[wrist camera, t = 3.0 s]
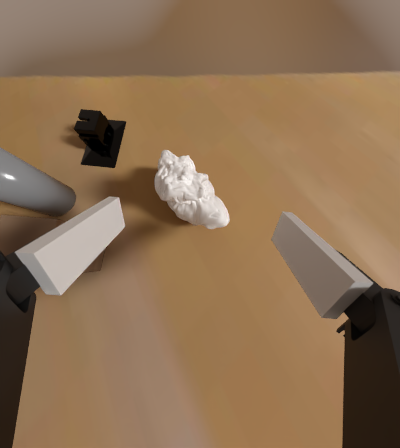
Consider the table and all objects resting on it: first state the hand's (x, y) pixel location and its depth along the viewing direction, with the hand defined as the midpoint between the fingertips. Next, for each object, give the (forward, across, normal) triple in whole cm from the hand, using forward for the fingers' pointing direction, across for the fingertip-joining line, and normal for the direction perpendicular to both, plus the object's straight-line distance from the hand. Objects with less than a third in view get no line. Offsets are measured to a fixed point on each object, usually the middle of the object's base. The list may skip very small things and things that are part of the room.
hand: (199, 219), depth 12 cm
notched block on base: (+17, -17, +4) cm, 25 cm away
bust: (+10, -1, -3) cm, 11 cm away
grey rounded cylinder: (+9, -21, -4) cm, 24 cm away
